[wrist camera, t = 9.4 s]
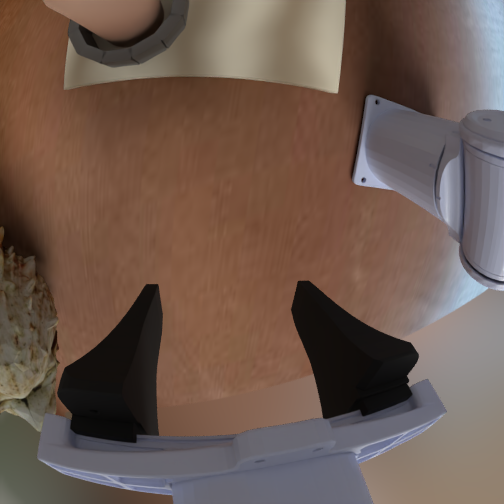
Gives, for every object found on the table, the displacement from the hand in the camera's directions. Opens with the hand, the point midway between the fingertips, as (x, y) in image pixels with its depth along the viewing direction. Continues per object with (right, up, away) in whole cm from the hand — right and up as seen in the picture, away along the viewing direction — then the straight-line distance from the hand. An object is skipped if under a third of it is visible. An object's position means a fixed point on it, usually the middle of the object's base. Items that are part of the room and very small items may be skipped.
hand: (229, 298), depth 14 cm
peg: (-7, +18, -2) cm, 19 cm away
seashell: (-24, 0, +7) cm, 25 cm away
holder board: (-2, +19, -1) cm, 19 cm away
